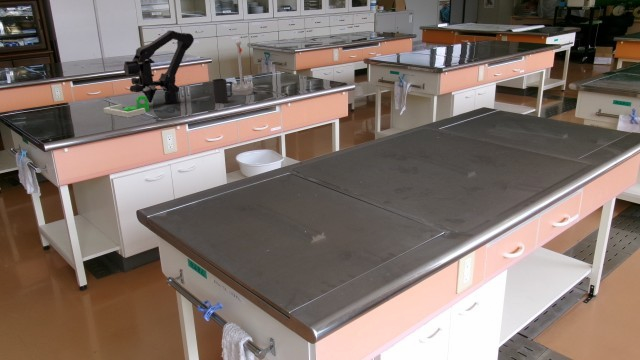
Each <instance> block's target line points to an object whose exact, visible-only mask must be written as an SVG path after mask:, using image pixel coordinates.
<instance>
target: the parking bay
mask: <svg viewBox="0 0 640 360" xmlns="http://www.w3.org/2000/svg"><path fill="white" fill-rule="evenodd" d="M103 113H104V114H107V115H112V116H119V117H123V118H132V117H136V116H140V115H143V114H146V111H145V108H141V109H137V110H133V111H129V112H127V111H124V107H123V104H122V103H121V104H116V105H111V106H107V107H103Z"/></svg>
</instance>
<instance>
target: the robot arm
mask: <svg viewBox="0 0 640 360" xmlns="http://www.w3.org/2000/svg"><path fill="white" fill-rule="evenodd" d="M172 40H176V44H177V46H176V49H175V52H174V54H173V56H172V59H171V61H170V62H169V66H168V67H167V71H166V72H165V73H164V72H161V74H160V76H159V78H158V80H154V78H153V77H154V76H155V74H154V73H152V72H153V71H152V64H155V61H154V60H153V59H152V58H151V57H153V55H155V52H156V51H157V50H159V49H160V48H162V47H163V46H165V45H167V44H168V43H169V42H171V41H172ZM194 40H195V38H194V36H193V35H192V34H191V33H188V32H179V31H174V30H167V31H166V32H165V33H164V34H162V35H161V36H159V37H157V38H156V39H155V40H153V41H152V42H150V43H147V44H145V45H142V46H140V47H137V48H136V50H135V55H134V57H133V58H132V60H130V61H129V60H127V61H124V64H123V71H124V74H125V75H126V76H130V75H131V76H132V75H138V74H139V73H140V74H139V75H138V78H137V77H132V78H131V80H130V81H131V84H132V85H130V87H129V91H130V92H131V93H141V92H142V93H143V94H144V96H145V97H146V98H147V99H148V104H149V103H150V104H151V103H153V100H154V96H155V94H156V92H157V90H158V88H157V87H159V88H161V89H162V90H163V92H164V102H163V103H164V104H167V105H174V104H178V103H179V104H180V103H181V102H182V101H181V100H179V94H178V93H179V91H180V87H179V86H177V85H176V75H177V72H178V70H179V67H180V65H181V63H182V61H183V58H184V56H185V54H186V52H187V50H188V49H190V47H191V46H192V45H193V43H194Z"/></svg>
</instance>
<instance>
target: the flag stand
mask: <svg viewBox="0 0 640 360" xmlns="http://www.w3.org/2000/svg"><path fill="white" fill-rule="evenodd" d="M235 45H236V47H237V57H238V58H237V60H238V72H239V84H237V82H232V95H233V96H249V95H252V93H253V89H254V83H252V82H250V81H249V82H246V83H245V82H244V80H243V79H244V77H243V68H242V56H241V54H242V52H243V49H242V47H241V45H242V41H241V40H239V39H237V40H236V41H235Z"/></svg>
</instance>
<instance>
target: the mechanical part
mask: <svg viewBox="0 0 640 360" xmlns="http://www.w3.org/2000/svg"><path fill="white" fill-rule="evenodd" d="M141 100H143V101H145V102H144V103H141ZM141 108H145V112H150V107H149V101H148V99H147V97H146V96H145V95H138V96H137V98H136V105H135V106H134V105H133V106H127V107H123V111H127V112H129V111H133V110H137V109H141Z"/></svg>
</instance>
